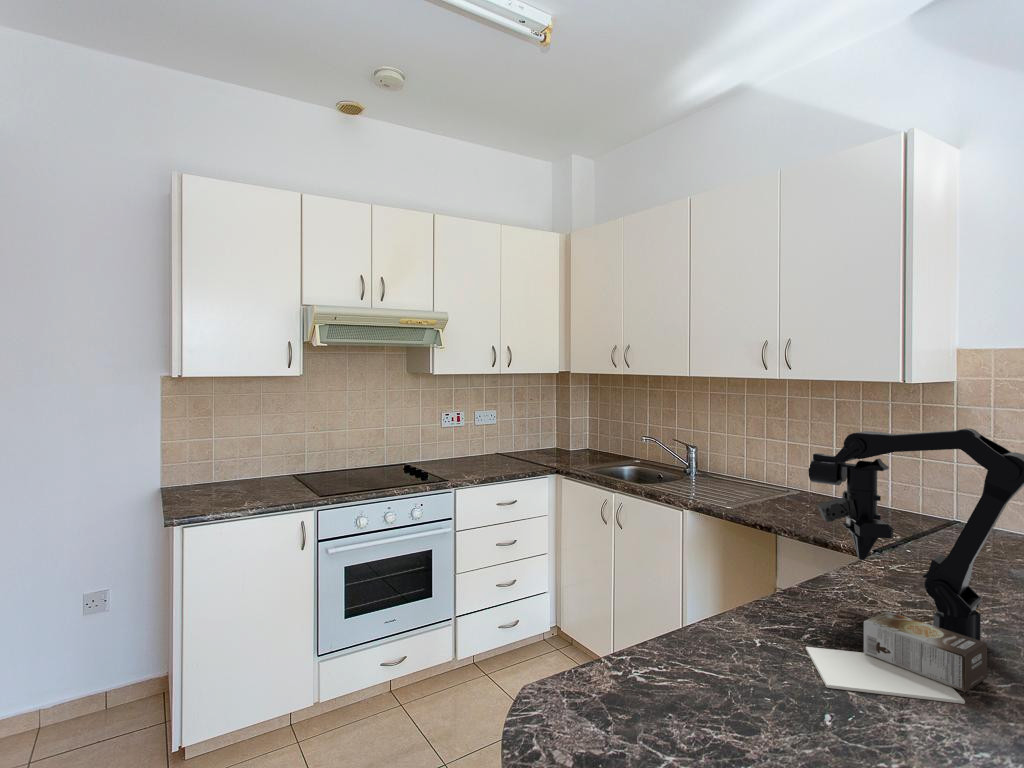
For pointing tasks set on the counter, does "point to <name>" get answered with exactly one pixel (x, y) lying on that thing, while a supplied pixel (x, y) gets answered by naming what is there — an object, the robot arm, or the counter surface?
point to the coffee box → (926, 650)
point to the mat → (876, 676)
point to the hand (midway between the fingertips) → (861, 559)
